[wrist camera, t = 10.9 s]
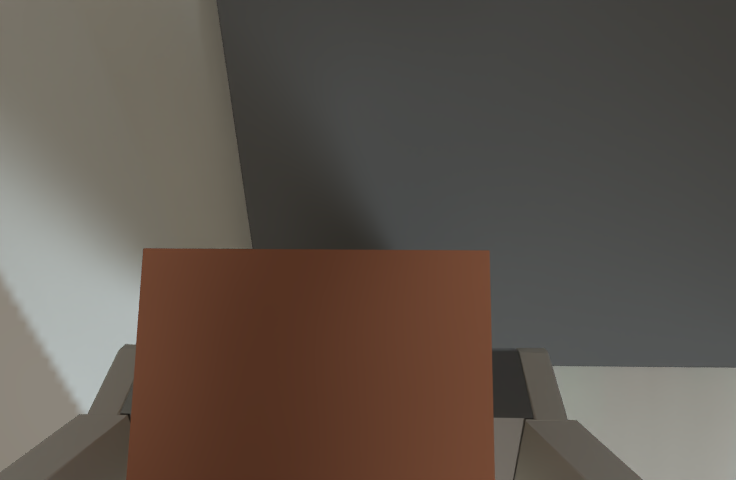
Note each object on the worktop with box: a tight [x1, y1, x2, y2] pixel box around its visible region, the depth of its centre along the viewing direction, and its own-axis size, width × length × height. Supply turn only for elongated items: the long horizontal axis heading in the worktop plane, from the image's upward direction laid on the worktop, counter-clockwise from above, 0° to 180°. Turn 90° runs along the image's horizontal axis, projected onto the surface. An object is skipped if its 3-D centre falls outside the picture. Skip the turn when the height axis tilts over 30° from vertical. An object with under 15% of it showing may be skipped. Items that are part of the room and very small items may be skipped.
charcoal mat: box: [217, 0, 736, 368], centre depth 15 cm, size 22×22×1 cm
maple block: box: [126, 248, 495, 480], centre depth 13 cm, size 4×4×11 cm
